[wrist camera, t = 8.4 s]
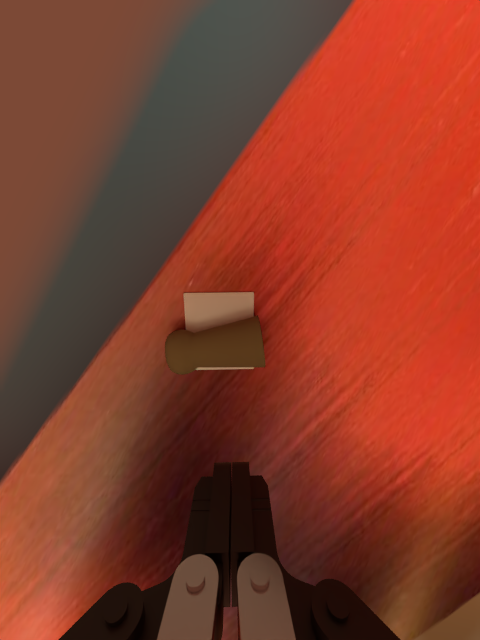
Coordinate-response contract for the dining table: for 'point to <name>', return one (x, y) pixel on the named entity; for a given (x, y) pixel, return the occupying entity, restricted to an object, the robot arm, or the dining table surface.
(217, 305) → the mat
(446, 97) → the dining table surface
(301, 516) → the dining table surface
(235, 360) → the cork
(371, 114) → the dining table surface
